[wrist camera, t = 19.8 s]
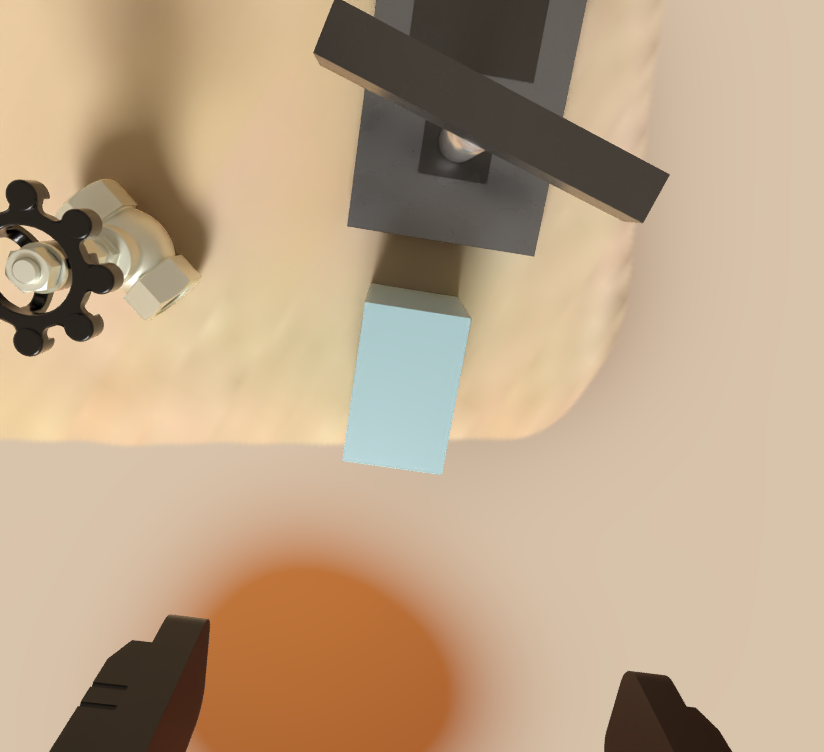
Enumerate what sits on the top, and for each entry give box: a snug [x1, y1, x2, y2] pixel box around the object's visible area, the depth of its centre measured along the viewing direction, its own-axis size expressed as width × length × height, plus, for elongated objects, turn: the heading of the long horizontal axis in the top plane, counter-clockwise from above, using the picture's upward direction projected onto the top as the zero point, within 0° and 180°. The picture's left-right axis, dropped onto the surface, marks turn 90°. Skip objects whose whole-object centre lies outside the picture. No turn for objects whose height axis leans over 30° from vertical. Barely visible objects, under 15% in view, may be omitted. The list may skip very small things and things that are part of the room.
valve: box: [0, 179, 201, 357], centre depth 30 cm, size 7×7×12 cm
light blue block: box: [343, 283, 471, 475], centre depth 34 cm, size 5×8×7 cm, turn 171°
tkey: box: [313, 0, 669, 223], centre depth 27 cm, size 2×12×11 cm, turn 64°
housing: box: [347, 0, 587, 256], centre depth 32 cm, size 10×18×2 cm, turn 171°
